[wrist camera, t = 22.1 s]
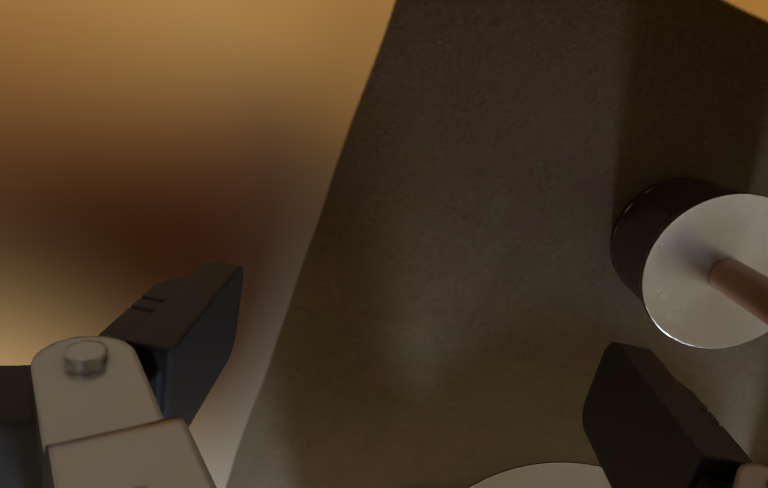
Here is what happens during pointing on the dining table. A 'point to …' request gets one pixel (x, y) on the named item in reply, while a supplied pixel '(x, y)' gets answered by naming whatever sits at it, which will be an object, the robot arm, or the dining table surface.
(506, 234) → the dining table surface
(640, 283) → the bowl lid
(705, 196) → the bowl
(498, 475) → the ring with crossbar
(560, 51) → the dining table surface
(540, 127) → the dining table surface
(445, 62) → the dining table surface
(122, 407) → the robot arm
